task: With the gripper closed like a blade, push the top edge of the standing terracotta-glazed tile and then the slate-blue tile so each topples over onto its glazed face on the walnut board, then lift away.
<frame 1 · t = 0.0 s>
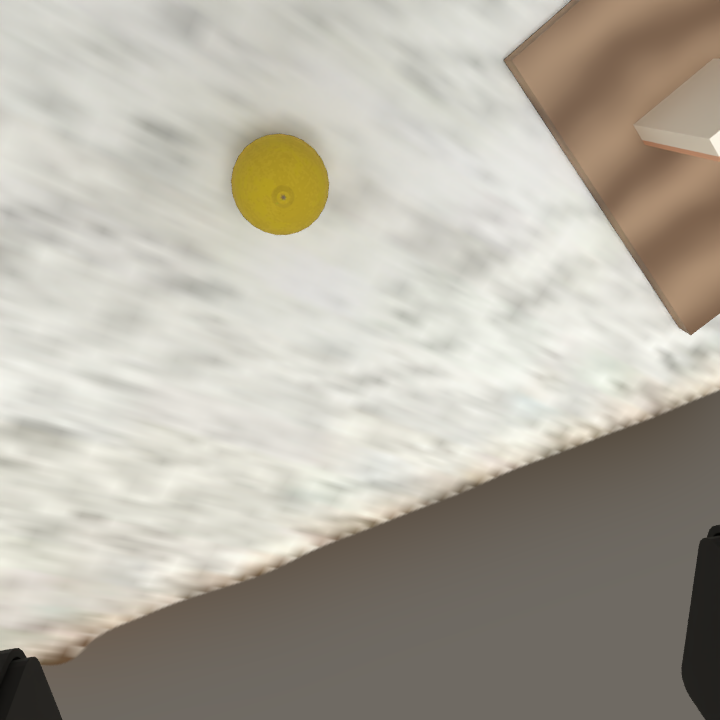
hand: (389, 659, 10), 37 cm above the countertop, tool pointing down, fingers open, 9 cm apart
lemon: (277, 173, 43), on the countertop
tile a: (678, 102, 43), point 1 cm above the countertop, touching board
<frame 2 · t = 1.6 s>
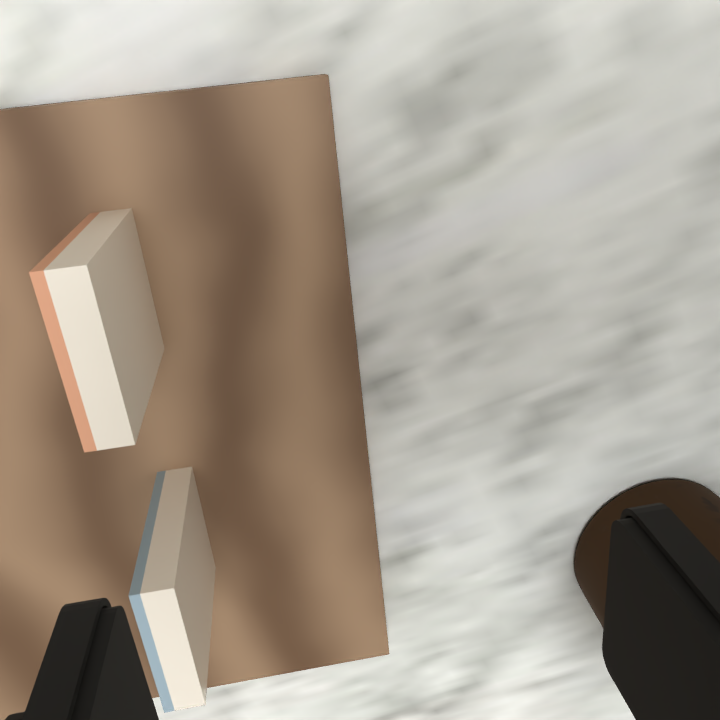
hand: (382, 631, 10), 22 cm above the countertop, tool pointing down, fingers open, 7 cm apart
olive oil: (649, 543, 40), on the countertop
tile a: (128, 284, 28), point 1 cm above the countertop, touching board
tile b: (187, 521, 33), point 1 cm above the countertop, touching board
board: (109, 444, 32), on the countertop
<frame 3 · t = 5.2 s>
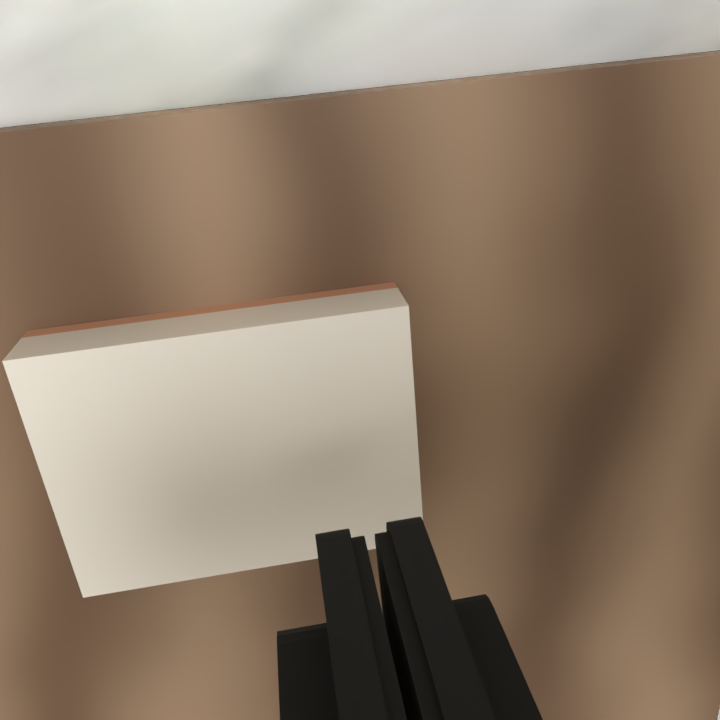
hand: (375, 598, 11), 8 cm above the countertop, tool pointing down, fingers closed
tile a: (409, 415, 16), point 2 cm above the countertop, tilted 90°, touching board
board: (344, 616, 21), on the countertop
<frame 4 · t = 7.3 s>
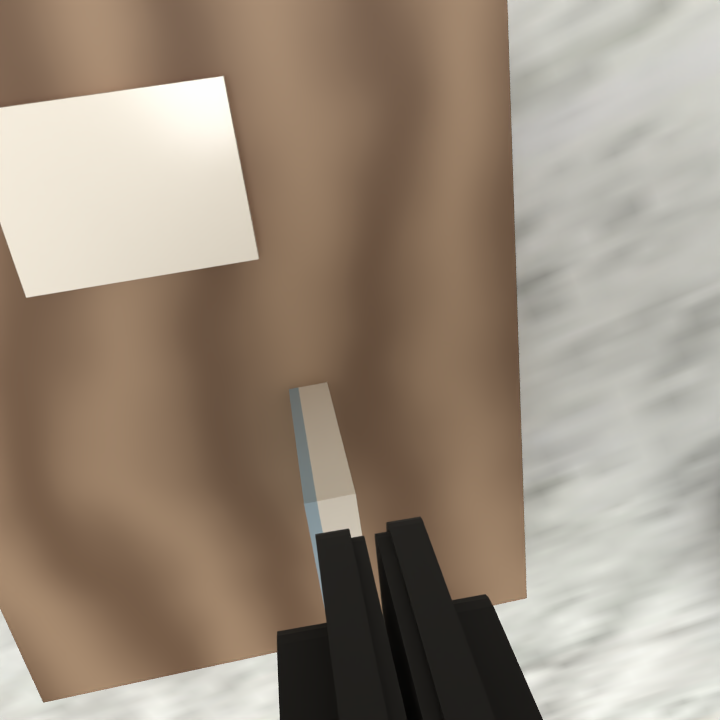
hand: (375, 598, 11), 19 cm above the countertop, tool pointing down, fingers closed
tile a: (242, 169, 24), point 2 cm above the countertop, tilted 90°, touching board
tile b: (318, 447, 29), point 1 cm above the countertop, touching board
board: (230, 362, 29), on the countertop
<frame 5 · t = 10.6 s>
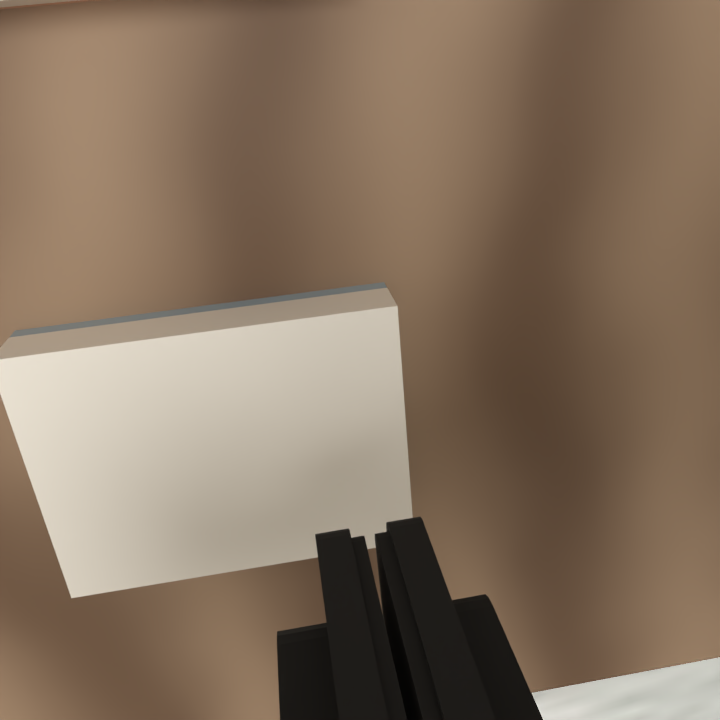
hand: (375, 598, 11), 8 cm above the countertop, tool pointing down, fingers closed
tile b: (399, 416, 16), point 2 cm above the countertop, tilted 90°, touching board
board: (282, 233, 16), on the countertop
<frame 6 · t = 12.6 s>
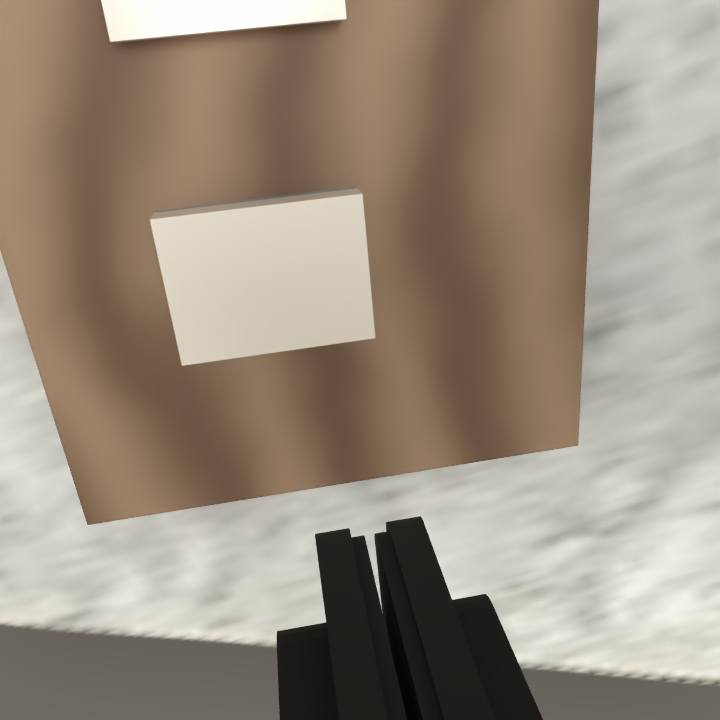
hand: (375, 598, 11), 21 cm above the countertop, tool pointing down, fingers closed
tile b: (366, 263, 28), point 2 cm above the countertop, tilted 90°, touching board
board: (299, 161, 28), on the countertop
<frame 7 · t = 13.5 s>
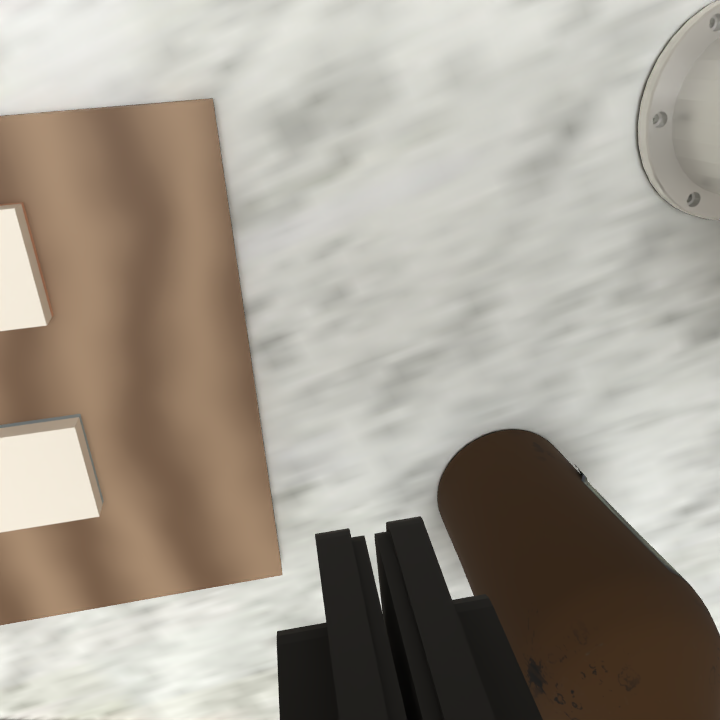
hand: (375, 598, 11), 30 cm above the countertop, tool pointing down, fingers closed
olive oil: (500, 485, 49), on the countertop
tile a: (35, 264, 35), point 2 cm above the countertop, tilted 90°, touching board
tile b: (89, 465, 40), point 2 cm above the countertop, tilted 90°, touching board
board: (43, 391, 40), on the countertop
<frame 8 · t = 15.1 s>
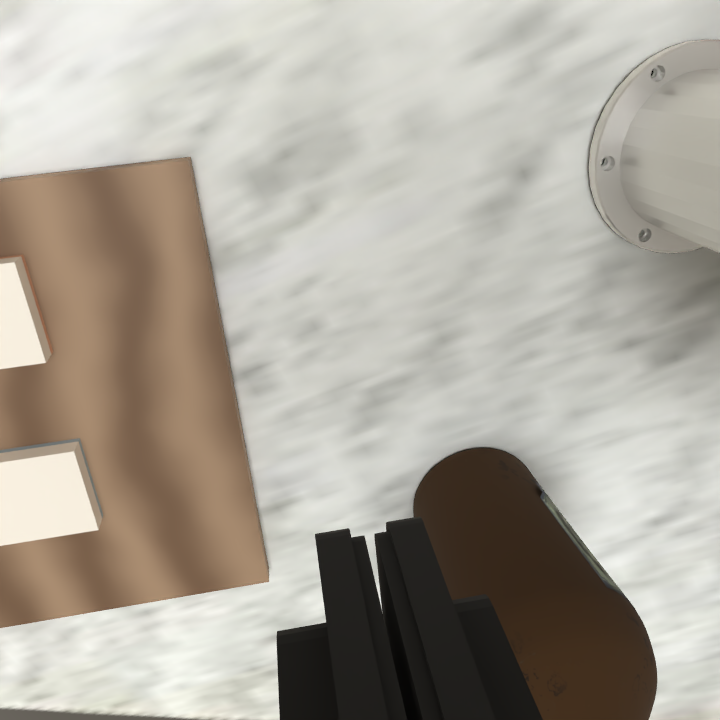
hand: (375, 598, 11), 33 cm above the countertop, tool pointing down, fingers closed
olive oil: (473, 498, 52), on the countertop
tile a: (34, 309, 39), point 2 cm above the countertop, tilted 90°, touching board
tile b: (89, 484, 44), point 2 cm above the countertop, tilted 90°, touching board
board: (48, 418, 44), on the countertop
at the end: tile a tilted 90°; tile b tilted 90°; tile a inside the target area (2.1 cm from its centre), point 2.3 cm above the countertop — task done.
